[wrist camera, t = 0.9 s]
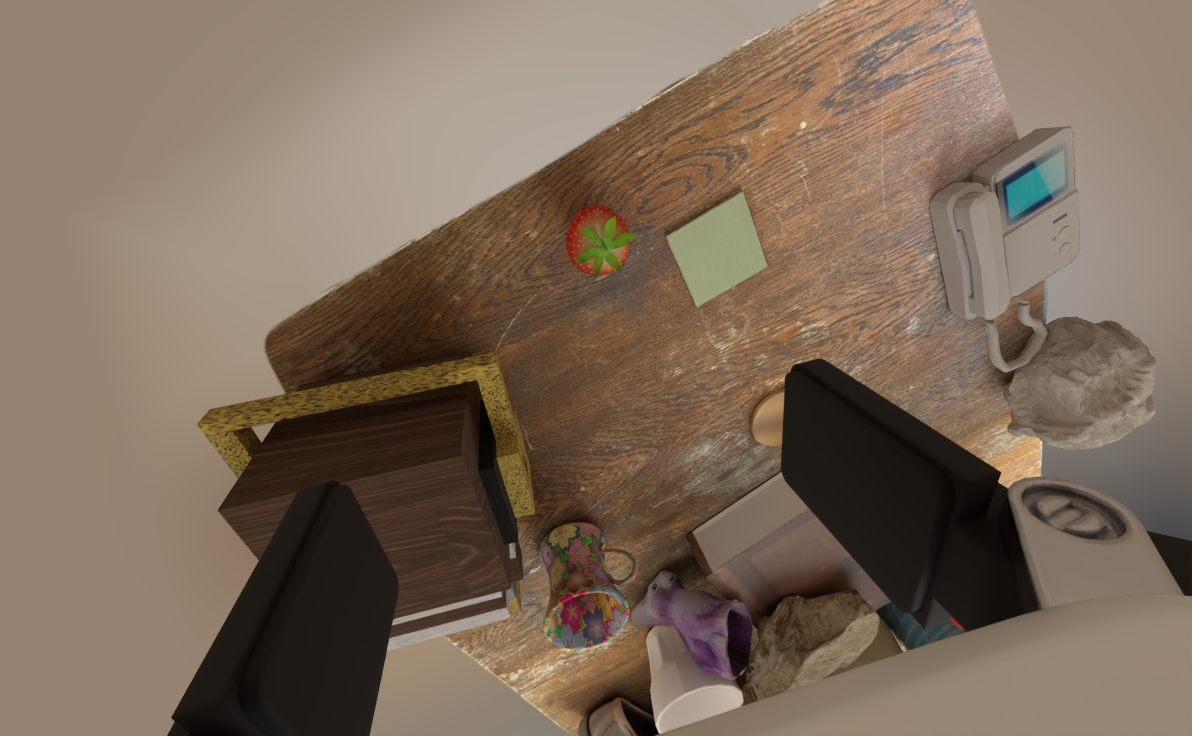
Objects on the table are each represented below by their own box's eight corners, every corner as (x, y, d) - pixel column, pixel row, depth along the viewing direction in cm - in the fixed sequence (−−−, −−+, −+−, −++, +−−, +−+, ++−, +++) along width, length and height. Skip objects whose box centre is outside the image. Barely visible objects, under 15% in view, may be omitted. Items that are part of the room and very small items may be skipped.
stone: (1032, 396, 49) (1007, 300, 57) (989, 470, 61) (973, 382, 69) (1280, 409, 41) (1210, 296, 50) (1175, 491, 53) (1133, 389, 62)
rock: (821, 546, 62) (721, 658, 56) (893, 601, 55) (789, 733, 50) (815, 591, 73) (731, 688, 67) (875, 641, 66) (788, 753, 60)
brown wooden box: (551, 533, 57) (495, 318, 41) (569, 654, 44) (498, 413, 28) (379, 576, 54) (248, 366, 38) (347, 716, 42) (136, 492, 26)
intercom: (995, 393, 53) (966, 204, 42) (962, 376, 57) (926, 199, 45) (1099, 331, 52) (1099, 119, 41) (1058, 318, 56) (1047, 121, 44)
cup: (650, 669, 73) (674, 750, 63) (620, 632, 67) (641, 715, 57) (719, 635, 73) (754, 712, 63) (695, 595, 67) (730, 672, 57)
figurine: (728, 583, 55) (628, 561, 64) (719, 682, 50) (613, 643, 60) (758, 593, 61) (662, 572, 70) (751, 682, 57) (651, 646, 66)
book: (767, 621, 74) (790, 662, 68) (685, 536, 60) (705, 577, 55) (898, 539, 71) (934, 575, 65) (843, 430, 58) (881, 463, 52)
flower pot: (959, 654, 67) (881, 586, 76) (895, 709, 58) (816, 624, 67) (901, 721, 75) (837, 652, 84) (837, 778, 66) (773, 694, 75)
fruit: (622, 252, 42) (648, 275, 35) (568, 268, 41) (583, 294, 34) (609, 191, 39) (634, 203, 32) (551, 208, 39) (564, 224, 32)
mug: (564, 579, 60) (577, 660, 50) (519, 544, 55) (524, 626, 46) (638, 530, 58) (666, 604, 49) (598, 490, 54) (620, 563, 45)
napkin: (664, 236, 42) (666, 236, 41) (741, 190, 41) (743, 191, 41) (695, 306, 46) (697, 307, 45) (765, 265, 45) (767, 266, 45)
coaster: (741, 410, 53) (743, 412, 52) (802, 375, 52) (805, 378, 52) (760, 454, 57) (763, 457, 56) (817, 423, 56) (820, 425, 56)
